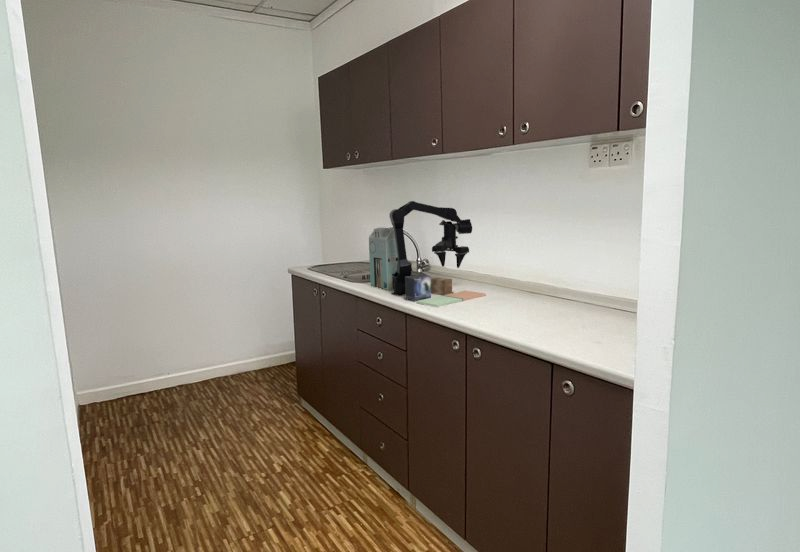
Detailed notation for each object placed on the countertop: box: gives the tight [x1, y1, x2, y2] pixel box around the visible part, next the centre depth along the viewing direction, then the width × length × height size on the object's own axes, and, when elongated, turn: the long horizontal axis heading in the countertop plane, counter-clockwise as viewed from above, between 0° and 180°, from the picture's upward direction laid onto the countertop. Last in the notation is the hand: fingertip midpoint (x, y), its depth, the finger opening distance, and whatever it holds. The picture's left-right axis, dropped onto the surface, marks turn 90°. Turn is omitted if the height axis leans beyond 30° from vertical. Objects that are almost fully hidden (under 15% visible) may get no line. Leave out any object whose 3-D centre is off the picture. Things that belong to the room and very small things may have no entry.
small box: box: [404, 273, 432, 302], centre depth 231 cm, size 11×6×10 cm, turn 129°
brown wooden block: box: [431, 276, 455, 296], centre depth 244 cm, size 14×6×7 cm, turn 43°
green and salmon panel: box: [416, 290, 486, 308], centre depth 229 cm, size 12×32×1 cm, turn 133°
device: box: [368, 227, 398, 292], centre depth 261 cm, size 16×8×30 cm, turn 34°
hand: (450, 267), depth 248 cm, fingers open, 9 cm apart
